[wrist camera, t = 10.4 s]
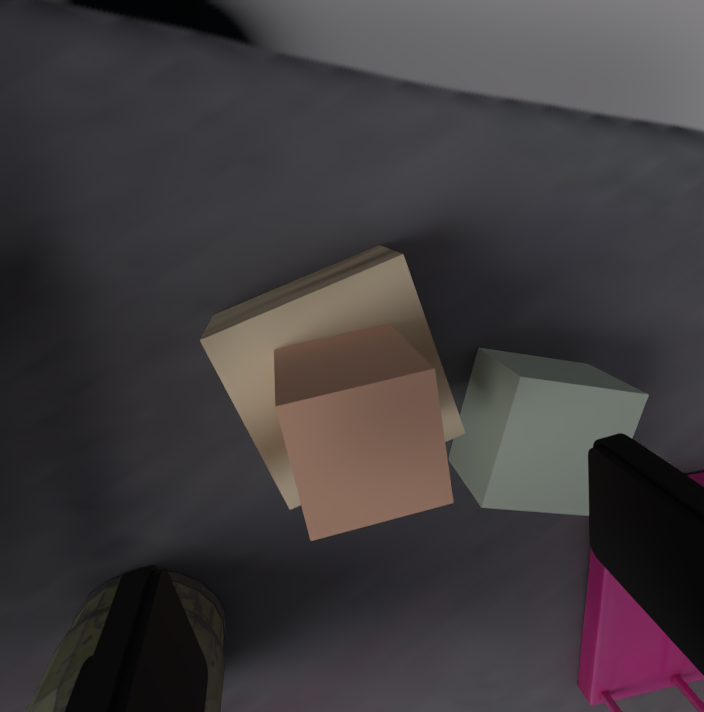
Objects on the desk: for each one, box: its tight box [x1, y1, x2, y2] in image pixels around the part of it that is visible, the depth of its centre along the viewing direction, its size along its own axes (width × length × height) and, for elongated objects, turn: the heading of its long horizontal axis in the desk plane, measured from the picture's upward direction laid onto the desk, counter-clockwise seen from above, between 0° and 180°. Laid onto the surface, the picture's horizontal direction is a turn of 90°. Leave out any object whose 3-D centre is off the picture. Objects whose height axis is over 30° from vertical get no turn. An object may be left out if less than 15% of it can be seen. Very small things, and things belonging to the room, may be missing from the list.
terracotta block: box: [274, 324, 454, 541], centre depth 18 cm, size 5×5×6 cm
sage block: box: [448, 347, 649, 516], centre depth 26 cm, size 7×7×5 cm
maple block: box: [200, 245, 465, 510], centre depth 23 cm, size 9×9×5 cm
